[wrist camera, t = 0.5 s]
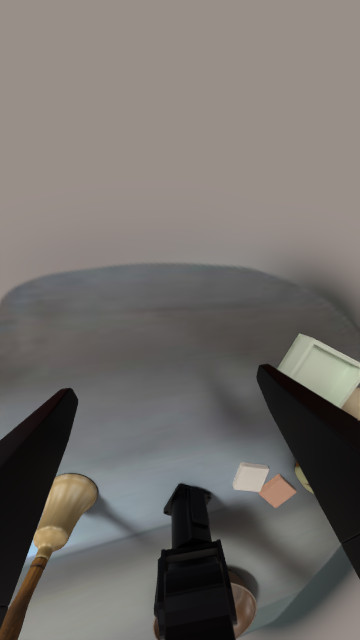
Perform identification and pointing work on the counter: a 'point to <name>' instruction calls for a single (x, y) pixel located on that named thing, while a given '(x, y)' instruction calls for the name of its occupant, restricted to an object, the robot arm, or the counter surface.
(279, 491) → the tile terracotta
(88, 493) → the hand bell
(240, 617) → the plant saucer
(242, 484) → the tile white
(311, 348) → the tray
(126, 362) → the counter surface
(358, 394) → the candle
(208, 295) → the counter surface
